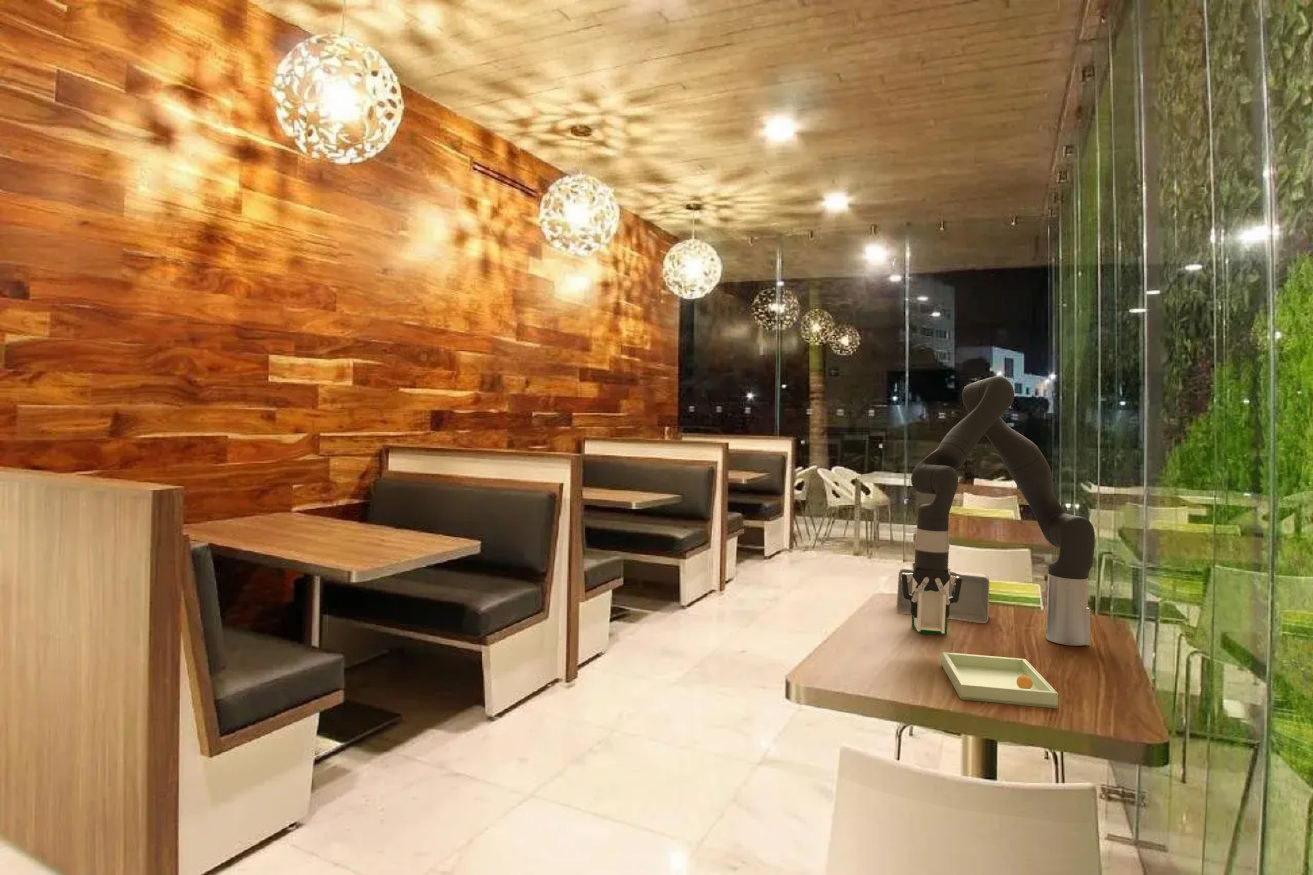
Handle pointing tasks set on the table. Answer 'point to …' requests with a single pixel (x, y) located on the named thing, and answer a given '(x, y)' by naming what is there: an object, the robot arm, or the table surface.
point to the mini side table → (930, 611)
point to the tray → (997, 680)
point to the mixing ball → (1024, 682)
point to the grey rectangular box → (970, 598)
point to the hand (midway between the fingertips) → (929, 618)
